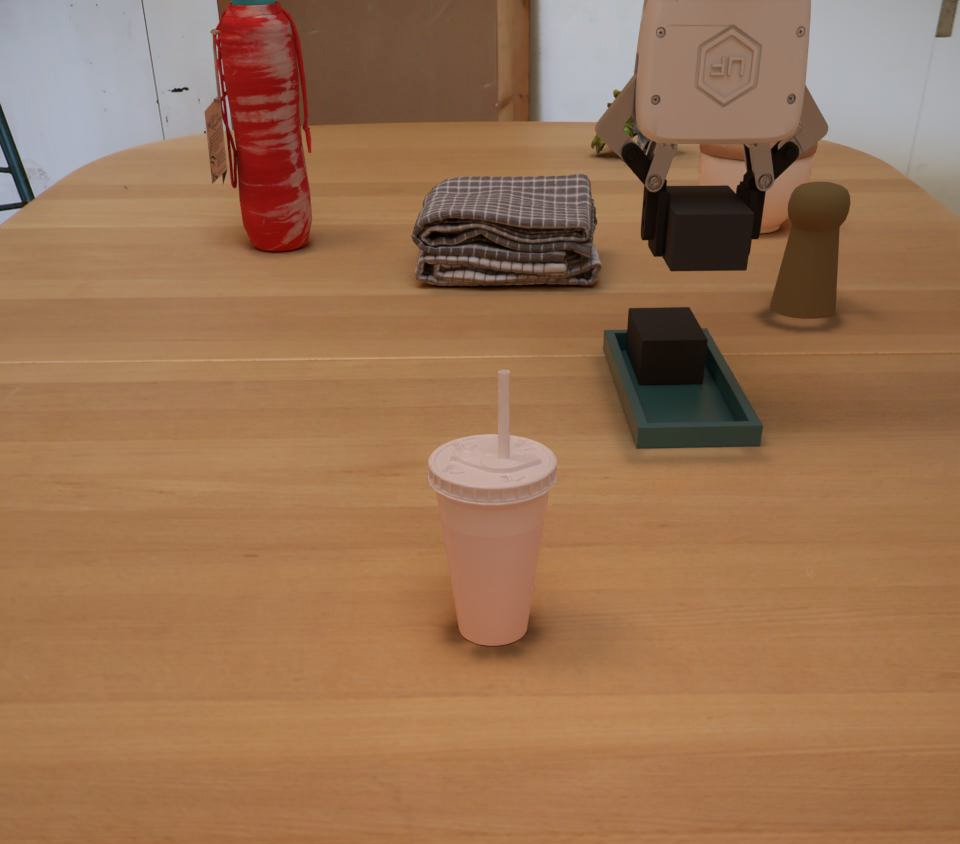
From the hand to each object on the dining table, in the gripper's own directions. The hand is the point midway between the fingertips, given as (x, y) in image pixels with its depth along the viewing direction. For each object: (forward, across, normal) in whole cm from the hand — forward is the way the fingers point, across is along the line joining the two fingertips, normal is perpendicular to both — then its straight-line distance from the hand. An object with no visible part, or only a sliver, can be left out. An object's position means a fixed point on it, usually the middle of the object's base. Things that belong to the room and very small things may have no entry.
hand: (698, 248), depth 76 cm
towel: (+12, -11, +40) cm, 43 cm away
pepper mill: (+12, +15, +24) cm, 31 cm away
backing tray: (+12, 0, +4) cm, 13 cm away
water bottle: (+13, -37, +51) cm, 64 cm away
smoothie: (+12, -15, -28) cm, 34 cm away
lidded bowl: (+12, +17, +56) cm, 60 cm away
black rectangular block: (0, 0, 0) cm, 0 cm away
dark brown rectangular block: (+12, 0, +10) cm, 15 cm away
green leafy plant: (+12, +10, +96) cm, 97 cm away
